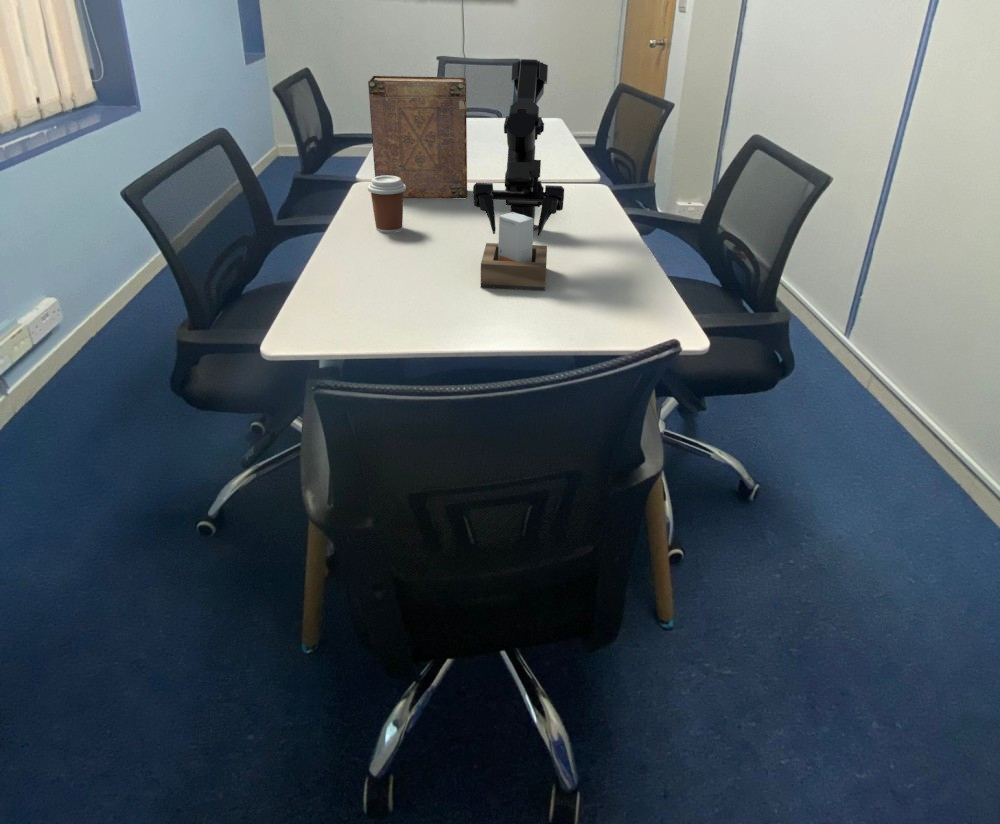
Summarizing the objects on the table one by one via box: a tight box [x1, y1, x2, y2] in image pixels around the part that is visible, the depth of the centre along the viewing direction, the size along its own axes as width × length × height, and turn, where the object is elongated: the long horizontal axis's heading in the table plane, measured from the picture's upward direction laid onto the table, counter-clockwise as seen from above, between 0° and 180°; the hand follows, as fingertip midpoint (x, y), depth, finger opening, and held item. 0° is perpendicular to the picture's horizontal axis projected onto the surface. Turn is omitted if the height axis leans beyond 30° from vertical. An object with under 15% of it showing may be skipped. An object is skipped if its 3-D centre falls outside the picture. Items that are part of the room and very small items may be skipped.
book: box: [367, 75, 468, 199], centre depth 197 cm, size 25×9×30 cm, turn 93°
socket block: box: [480, 242, 548, 292], centre depth 149 cm, size 13×13×5 cm
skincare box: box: [498, 211, 535, 262], centre depth 147 cm, size 6×4×12 cm
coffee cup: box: [367, 175, 406, 234], centre depth 174 cm, size 9×9×12 cm
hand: (516, 234), depth 148 cm, fingers open, 9 cm apart
